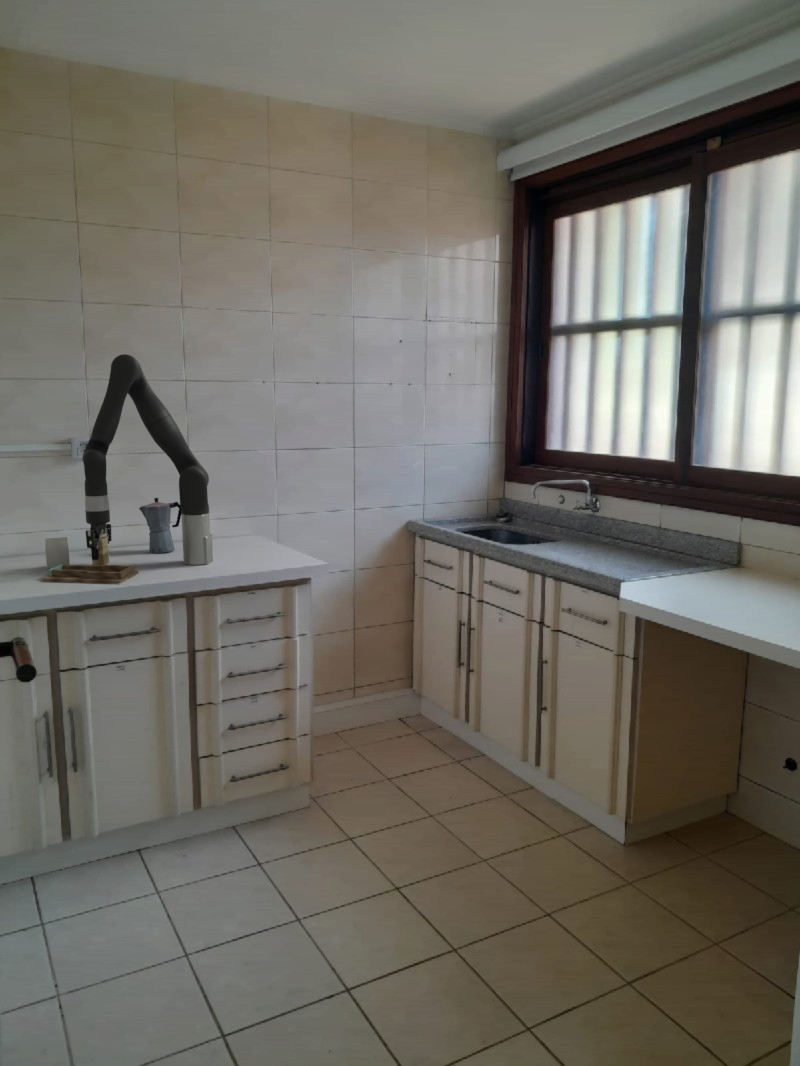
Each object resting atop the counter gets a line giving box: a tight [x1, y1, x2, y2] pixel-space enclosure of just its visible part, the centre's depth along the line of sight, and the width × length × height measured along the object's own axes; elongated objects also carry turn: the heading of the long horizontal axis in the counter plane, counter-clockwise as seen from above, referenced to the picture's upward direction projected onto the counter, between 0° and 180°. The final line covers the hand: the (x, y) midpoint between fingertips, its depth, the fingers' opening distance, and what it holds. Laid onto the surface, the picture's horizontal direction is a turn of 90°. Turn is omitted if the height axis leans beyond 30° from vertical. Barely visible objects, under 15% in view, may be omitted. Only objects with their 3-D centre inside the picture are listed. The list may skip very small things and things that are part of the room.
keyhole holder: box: [42, 564, 140, 584], centre depth 255 cm, size 25×14×3 cm, turn 85°
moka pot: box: [138, 497, 182, 554], centre depth 294 cm, size 10×15×20 cm, turn 115°
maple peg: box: [91, 533, 110, 566], centre depth 270 cm, size 5×5×11 cm
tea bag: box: [44, 536, 71, 570], centre depth 269 cm, size 4×7×10 cm, turn 120°
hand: (100, 557), depth 270 cm, fingers open, 6 cm apart
